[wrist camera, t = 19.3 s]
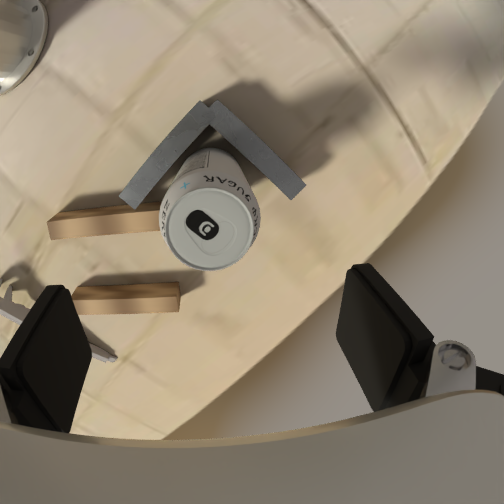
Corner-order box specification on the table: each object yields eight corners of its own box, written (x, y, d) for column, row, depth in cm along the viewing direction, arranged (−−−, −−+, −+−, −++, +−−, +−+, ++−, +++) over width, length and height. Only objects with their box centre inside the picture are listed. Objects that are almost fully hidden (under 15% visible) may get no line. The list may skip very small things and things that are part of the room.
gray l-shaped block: (294, 189, 32) (305, 199, 28) (130, 199, 30) (120, 211, 26) (296, 101, 28) (308, 100, 24) (122, 110, 26) (110, 110, 22)
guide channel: (81, 300, 34) (73, 314, 31) (58, 212, 29) (46, 222, 26) (180, 296, 35) (178, 311, 33) (168, 201, 30) (164, 210, 28)
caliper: (-1, 281, 31) (-23, 306, 26) (1, 275, 31) (-22, 301, 26) (114, 360, 39) (106, 392, 34) (118, 356, 39) (109, 389, 33)
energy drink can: (213, 216, 32) (214, 298, 18) (168, 179, 30) (132, 237, 16) (253, 174, 30) (287, 226, 17) (208, 134, 28) (204, 151, 15)
